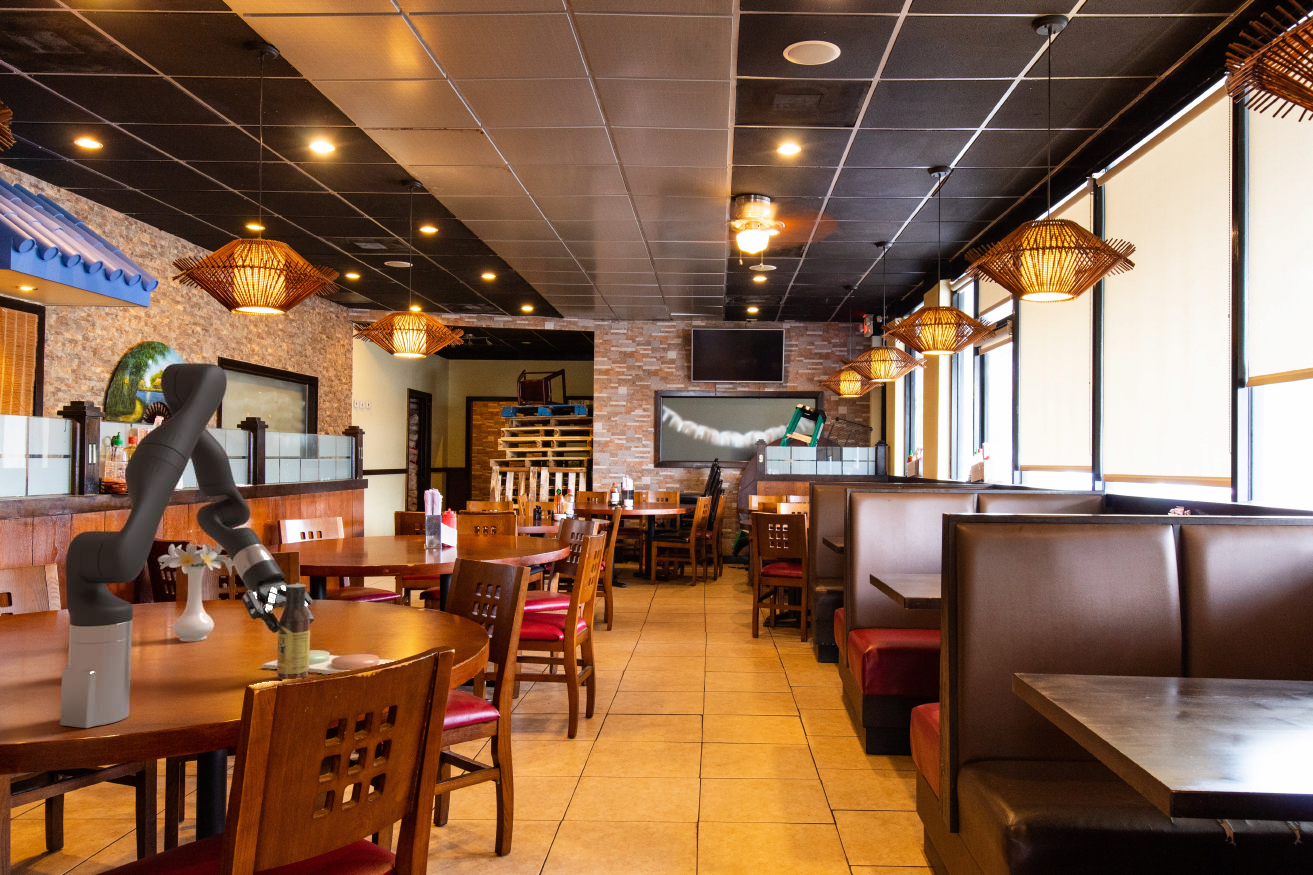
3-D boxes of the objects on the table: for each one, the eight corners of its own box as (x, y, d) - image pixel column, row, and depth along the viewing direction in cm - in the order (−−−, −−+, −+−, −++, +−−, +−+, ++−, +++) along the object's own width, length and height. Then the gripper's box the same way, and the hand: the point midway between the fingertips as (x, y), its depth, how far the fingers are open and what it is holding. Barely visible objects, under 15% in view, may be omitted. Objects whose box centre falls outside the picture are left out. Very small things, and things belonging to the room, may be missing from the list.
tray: (364, 677, 173) (364, 667, 174) (262, 668, 180) (263, 658, 180) (395, 664, 185) (396, 655, 185) (299, 656, 192) (299, 647, 192)
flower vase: (240, 638, 211) (244, 542, 212) (159, 647, 199) (163, 546, 201) (228, 630, 221) (231, 539, 222) (150, 639, 209) (154, 542, 210)
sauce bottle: (276, 676, 174) (279, 583, 175) (308, 673, 176) (310, 582, 177) (276, 683, 168) (279, 587, 169) (309, 680, 171) (312, 586, 171)
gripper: (238, 561, 171) (275, 620, 165) (294, 555, 183) (329, 610, 178) (220, 584, 173) (256, 644, 167) (276, 577, 185) (311, 631, 180)
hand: (294, 626), depth 173 cm, fingers open, 8 cm apart
